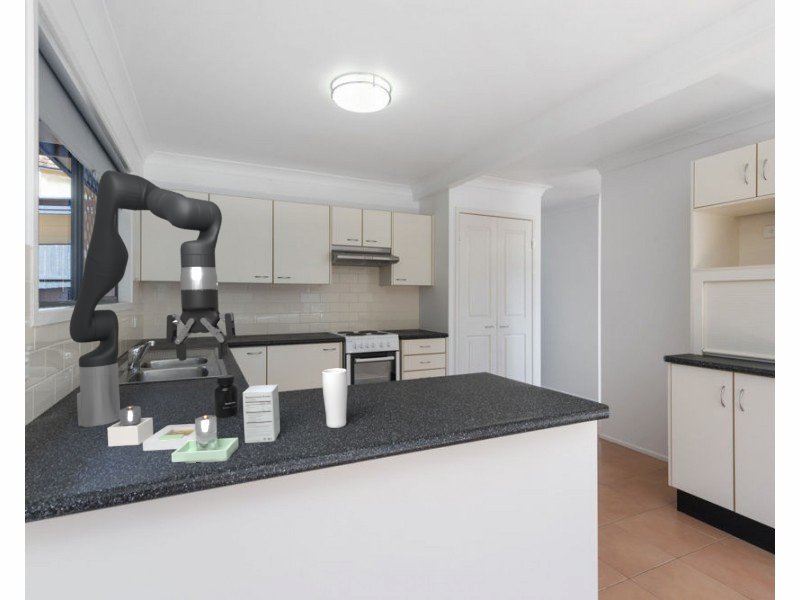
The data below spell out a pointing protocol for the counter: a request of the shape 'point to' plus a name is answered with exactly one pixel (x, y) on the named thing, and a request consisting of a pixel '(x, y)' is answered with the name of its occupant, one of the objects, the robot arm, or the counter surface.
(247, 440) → the supplement box
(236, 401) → the supplement bottle
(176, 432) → the contact plate
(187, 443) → the trough
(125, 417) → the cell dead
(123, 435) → the white open box sleeve
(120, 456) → the counter surface
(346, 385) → the drinking glass
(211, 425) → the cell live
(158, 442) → the frame
